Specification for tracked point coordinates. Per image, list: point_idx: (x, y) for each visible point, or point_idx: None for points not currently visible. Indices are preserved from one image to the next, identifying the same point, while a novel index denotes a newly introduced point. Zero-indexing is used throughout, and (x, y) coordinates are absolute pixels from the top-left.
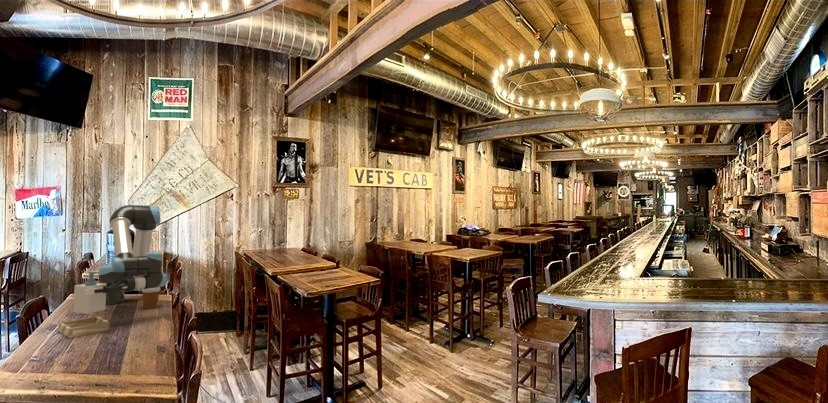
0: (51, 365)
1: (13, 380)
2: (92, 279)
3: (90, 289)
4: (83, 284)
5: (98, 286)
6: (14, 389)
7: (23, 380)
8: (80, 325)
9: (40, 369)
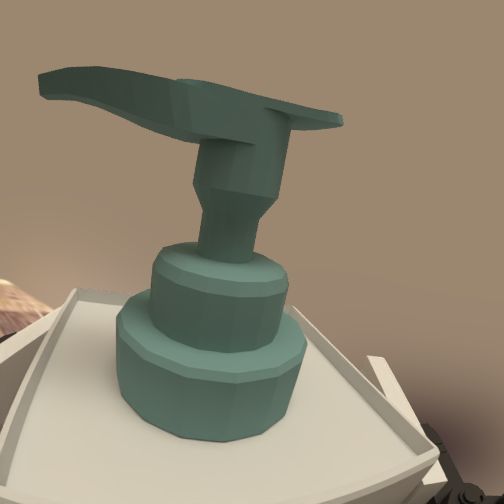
0: (2, 328)
1: (23, 297)
2: (161, 254)
3: (57, 313)
4: (336, 365)
5: (39, 376)
6: (2, 283)
7: (9, 296)
8: None
9: (10, 318)
